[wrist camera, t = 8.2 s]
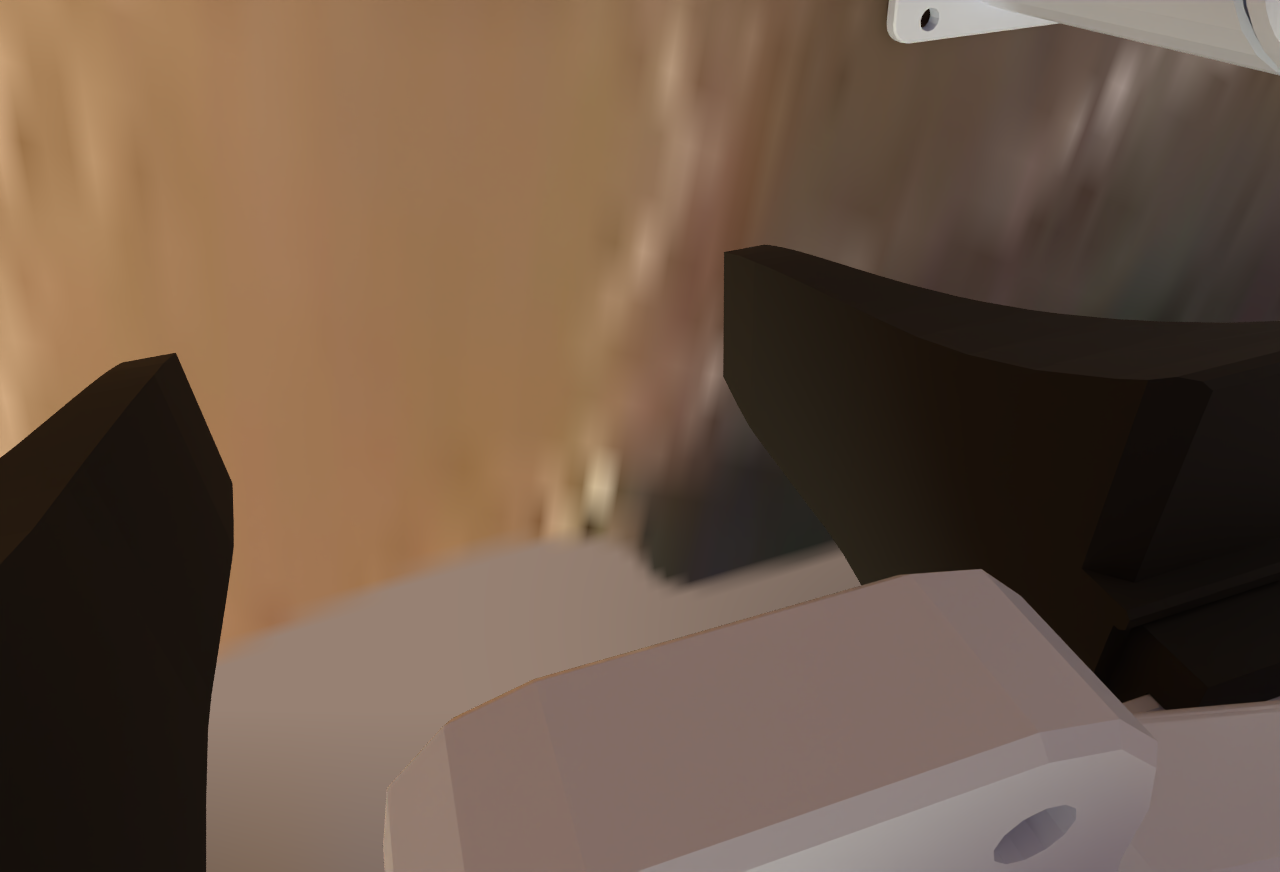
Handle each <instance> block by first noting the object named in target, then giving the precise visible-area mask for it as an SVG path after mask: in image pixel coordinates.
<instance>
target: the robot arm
mask: <svg viewBox="0 0 1280 872" xmlns="http://www.w3.org/2000/svg"><path fill="white" fill-rule="evenodd" d="M927 9H929V10H930V18H929V21H928V23H927V24H926V25H925V26H924V27H921V22H920V21H921V18H922V15H923V13H924V12H925V11H926V10H927ZM1058 23H1061V24H1066V25H1070V26H1074V27H1078V28H1083V29H1087V30H1091V31H1095V32H1099V33H1104V34H1108V35H1112V36H1116V37H1121V38H1125V39H1129V40H1133V41H1137V42H1142V43H1146V44H1150V45H1154V46H1159V47H1163V48H1167V49H1171V50H1175V51H1180V52H1184V53H1188V54H1192V55H1197V56H1201V57H1205V58H1209V59H1213V60H1218V61H1222V62H1226V63H1230V64H1235V65H1239V66H1243V67H1247V68H1251V69H1256V70H1260V71H1264V72H1268V73H1273V74H1277V75H1280V0H889V6H888V15H887V31H888V33H889V35H890V37H891V38H893V39H894V40H895V41H898V42H901V43H915V42H923V41H930V40H938V39H945V38H953V37H960V36H968V35H975V34H983V33H990V32H998V31H1005V30H1013V29H1020V28H1028V27H1035V26H1043V25H1050V24H1058ZM723 377H724V379H725V381H726V383H727V385H728V387H729V389H730V391H731V393H732V395H733V397H734V399H735V401H736V403H737V405H738V406H739V408H740V410H741V412H742V414H743V415H744V417H745V419H746V421H747V423H748V425H749V426H750V428H751V429H752V431H753V432H754V434H755V435H756V436H757V438H758V439H759V440H760V442H761V443H762V445H763V446H764V447H765V449H766V450H767V451H768V453H769V454H770V455H771V457H772V458H773V459H774V461H775V462H776V463H777V465H778V466H779V467H780V469H781V470H782V471H783V473H784V474H785V475H786V477H787V478H788V479H789V481H790V482H791V483H792V485H793V486H794V487H795V489H796V490H797V491H798V492H799V494H800V495H801V496H802V498H803V499H804V500H805V502H806V503H807V504H808V506H809V507H810V508H811V510H812V511H813V512H814V514H815V515H816V516H817V518H818V519H819V520H820V522H821V523H822V524H823V525H824V527H825V528H826V529H827V531H828V532H829V534H830V535H831V537H832V538H833V540H834V541H835V543H836V544H837V545H838V547H839V548H840V550H841V551H842V553H843V554H844V556H845V558H846V559H847V561H848V563H849V564H850V566H851V568H852V570H853V571H854V573H855V575H856V577H857V578H858V580H859V582H860V583H861V585H862V586H858V587H855V588H851V589H848V590H844V591H841V592H837V593H834V594H831V595H827V596H823V597H820V598H816V599H813V600H809V601H806V602H802V603H799V604H795V605H792V606H788V607H785V608H782V609H778V610H774V611H771V612H767V613H764V614H760V615H757V616H753V617H750V618H746V619H743V620H739V621H736V622H733V623H729V624H726V625H722V626H718V627H715V628H712V629H708V630H705V631H701V632H698V633H694V634H690V635H687V636H684V637H680V638H677V639H673V640H669V641H666V642H663V643H659V644H655V645H652V646H649V647H645V648H641V649H638V650H634V651H631V652H628V653H624V654H620V655H617V656H613V657H610V658H606V659H603V660H599V661H596V662H593V663H589V664H585V665H582V666H578V667H575V668H571V669H568V670H564V671H561V672H558V673H554V674H550V675H547V676H543V677H540V678H536V679H533V680H531V681H529V682H527V683H525V684H523V685H521V686H519V687H517V688H515V689H512V690H510V691H508V692H506V693H504V694H502V695H500V696H498V697H496V698H494V699H492V700H490V701H487V702H485V703H483V704H481V705H479V706H477V707H475V708H473V709H471V710H469V711H466V712H465V713H462V714H460V715H458V716H456V717H454V718H453V719H451V720H450V721H449V722H448V723H446V724H445V725H444V726H443V727H442V728H441V729H440V730H439V731H438V732H437V734H436V735H435V736H434V737H433V738H432V739H431V740H430V741H429V742H428V743H427V744H426V746H425V747H424V748H423V749H422V750H421V751H420V752H419V753H418V754H417V756H416V757H415V758H414V759H413V760H412V761H411V762H410V763H409V765H407V767H406V768H405V769H404V770H403V771H402V772H401V773H400V774H399V775H398V777H397V778H396V779H395V780H394V781H393V782H392V783H391V784H390V786H388V788H387V796H386V812H385V826H384V841H383V850H384V866H385V872H1280V321H1267V322H1237V323H1201V322H1158V321H1138V320H1120V319H1108V318H1097V317H1087V316H1077V315H1066V314H1057V313H1049V312H1041V311H1034V310H1027V309H1021V308H1015V307H1010V306H1004V305H998V304H993V303H987V302H981V301H976V300H971V299H967V298H962V297H957V296H953V295H949V294H945V293H941V292H937V291H933V290H929V289H925V288H921V287H917V286H913V285H910V284H906V283H902V282H899V281H895V280H892V279H888V278H885V277H882V276H878V275H875V274H872V273H868V272H865V271H862V270H858V269H855V268H852V267H849V266H845V265H842V264H839V263H836V262H832V261H829V260H826V259H823V258H819V257H816V256H813V255H809V254H806V253H802V252H799V251H795V250H791V249H787V248H782V247H777V246H771V245H760V246H755V247H749V248H744V249H739V250H733V251H728V252H724V367H723ZM233 548H234V519H233V488H232V481H231V479H230V477H229V475H228V472H227V470H226V468H225V465H224V463H223V461H222V458H221V456H220V454H219V451H218V449H217V447H216V445H215V442H214V440H213V438H212V435H211V433H210V431H209V428H208V426H207V424H206V421H205V419H204V417H203V415H202V412H201V410H200V408H199V405H198V403H197V401H196V398H195V396H194V394H193V392H192V389H191V387H190V385H189V382H188V380H187V378H186V375H185V373H184V371H183V368H182V366H181V364H180V362H179V359H178V357H177V355H176V353H172V354H167V355H161V356H156V357H150V358H145V359H139V360H134V361H128V362H123V363H121V364H119V365H117V366H115V367H114V368H112V369H111V370H109V371H108V372H106V373H105V374H103V375H102V376H101V377H99V378H98V379H97V380H95V381H94V382H93V383H92V384H90V385H89V386H88V387H87V388H85V389H84V390H83V391H82V392H80V393H79V394H78V395H77V396H76V397H74V398H73V399H72V400H71V401H70V402H68V403H67V404H66V405H65V406H64V407H62V408H61V409H60V410H59V411H57V412H56V413H55V414H54V415H53V416H51V417H50V418H49V419H48V420H47V421H45V422H44V423H43V424H42V425H41V426H39V427H38V428H37V429H36V430H34V431H33V432H32V433H31V434H30V435H28V436H27V437H26V438H25V439H24V440H22V441H21V442H20V443H19V444H18V445H16V446H15V447H14V448H13V449H11V450H10V451H9V452H7V453H6V454H5V455H3V456H2V457H1V458H0V872H206V785H207V783H206V782H207V746H208V744H207V743H208V724H209V714H210V713H209V712H210V703H211V694H212V687H213V681H214V674H215V668H216V662H217V656H218V649H219V643H220V636H221V630H222V623H223V617H224V611H225V604H226V598H227V591H228V584H229V577H230V570H231V563H232V555H233Z"/></svg>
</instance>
